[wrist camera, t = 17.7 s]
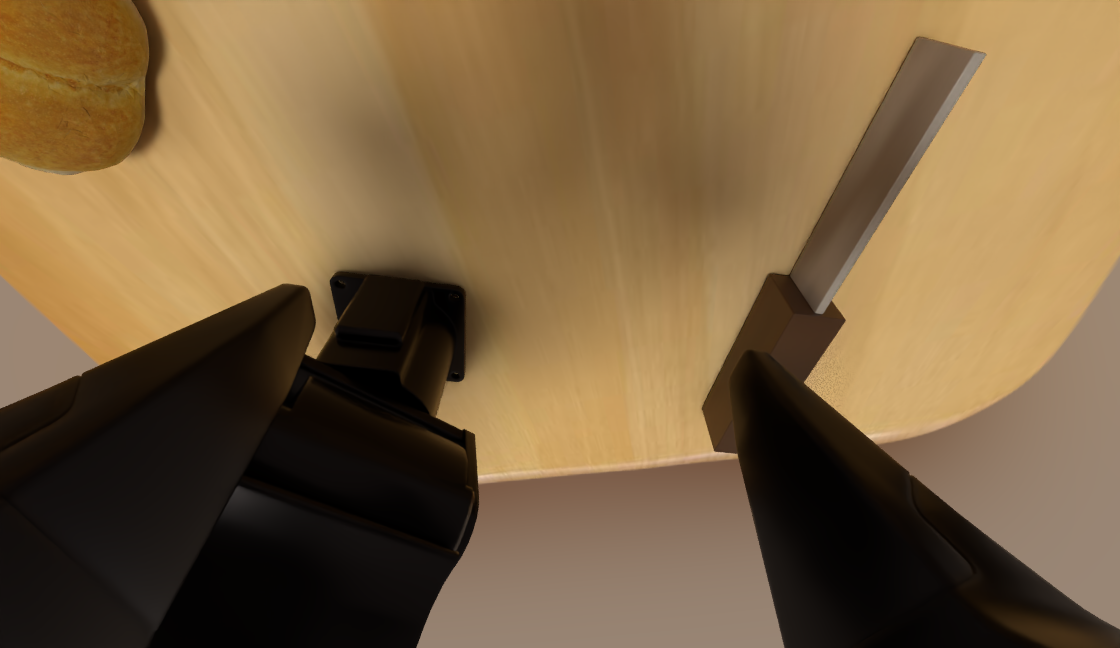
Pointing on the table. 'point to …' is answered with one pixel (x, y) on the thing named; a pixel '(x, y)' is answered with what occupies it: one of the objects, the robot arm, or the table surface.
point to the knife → (846, 224)
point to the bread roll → (71, 83)
